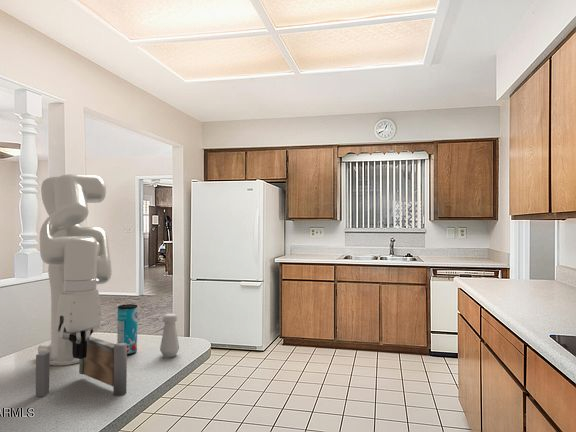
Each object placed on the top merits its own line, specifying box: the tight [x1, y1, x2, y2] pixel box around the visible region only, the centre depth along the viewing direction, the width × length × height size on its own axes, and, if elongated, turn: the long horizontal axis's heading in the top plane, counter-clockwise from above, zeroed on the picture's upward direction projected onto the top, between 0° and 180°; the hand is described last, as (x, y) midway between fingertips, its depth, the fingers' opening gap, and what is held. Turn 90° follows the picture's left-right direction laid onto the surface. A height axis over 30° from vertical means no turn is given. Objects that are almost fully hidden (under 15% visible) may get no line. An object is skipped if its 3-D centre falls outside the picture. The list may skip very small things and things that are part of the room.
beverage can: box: [116, 303, 138, 356], centre depth 134 cm, size 6×6×15 cm
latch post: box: [35, 352, 50, 398], centre depth 102 cm, size 2×2×10 cm
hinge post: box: [112, 343, 128, 397], centre depth 103 cm, size 3×3×12 cm
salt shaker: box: [159, 313, 180, 359], centre depth 132 cm, size 6×6×13 cm
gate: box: [78, 336, 115, 387], centre depth 109 cm, size 15×2×10 cm, turn 55°
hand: (79, 357), depth 107 cm, fingers closed
